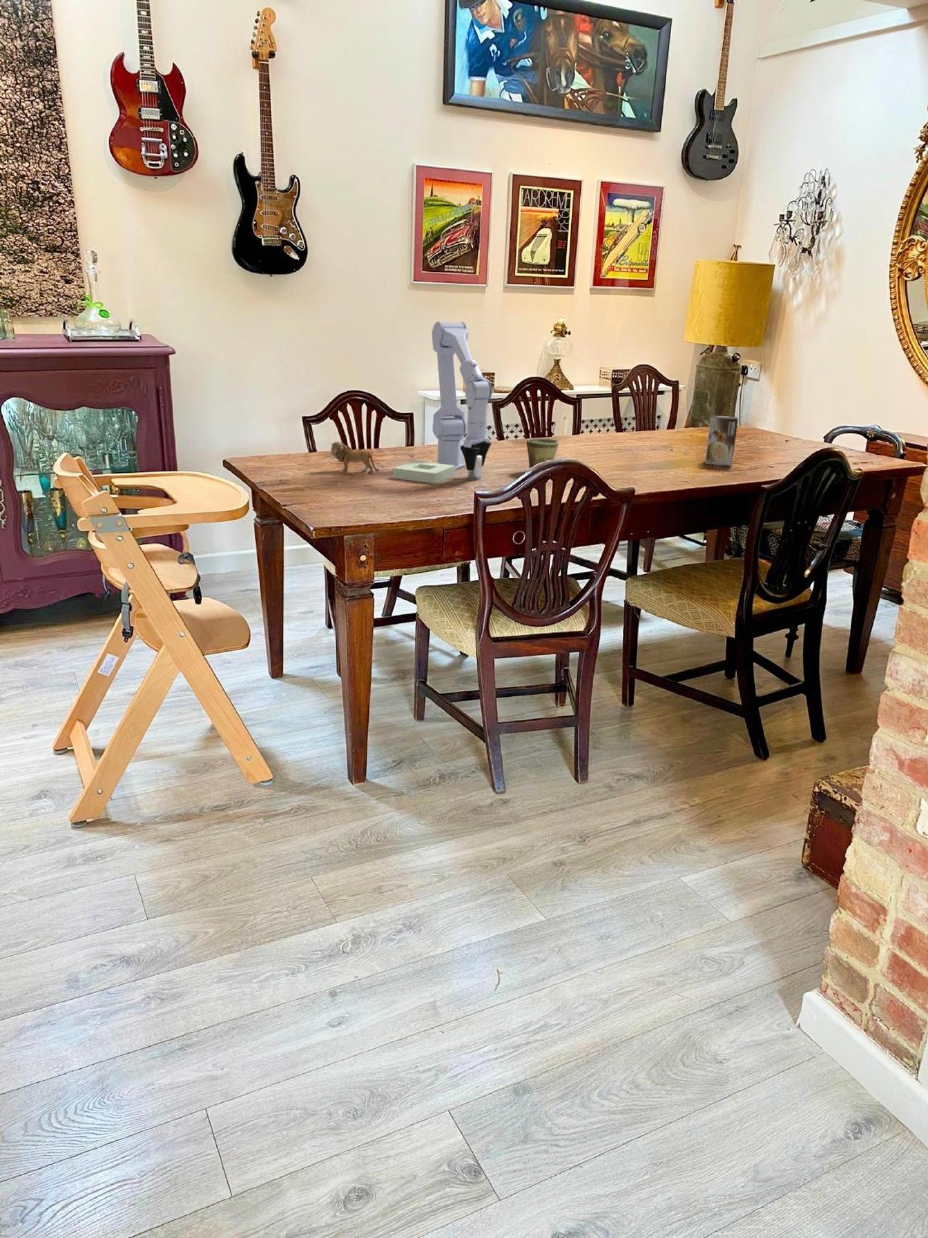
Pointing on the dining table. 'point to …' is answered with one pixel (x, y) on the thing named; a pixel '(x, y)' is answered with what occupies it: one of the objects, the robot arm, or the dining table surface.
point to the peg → (476, 469)
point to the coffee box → (721, 440)
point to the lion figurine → (351, 456)
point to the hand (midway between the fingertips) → (475, 467)
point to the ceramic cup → (541, 450)
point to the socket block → (424, 471)
